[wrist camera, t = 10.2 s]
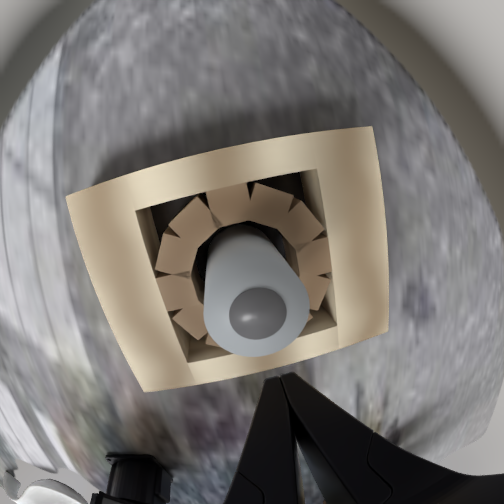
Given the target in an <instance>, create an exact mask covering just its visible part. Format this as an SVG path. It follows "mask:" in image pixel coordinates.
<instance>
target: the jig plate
mask: <svg viewBox="0 0 504 504" xmlns="http://www.w3.org/2000/svg"><path fill="white" fill-rule="evenodd" d="M294 172H300V176H301V181H302V187H303V192H304V198H305V203H306V206H305V204H304V203H303V202H302V201H301V200H298V199H296V198H293V196H294V195H291V194H288V193H285V192H282V191H279V190H276V189H273V188H270V187H267V186H264V185H261V184H258V183H255V182H252V181H254V180H259V179H264V178H269V177H274V176H279V175H284V174H289V173H294ZM246 182H248V184H246ZM202 192H206V195H207V198H206V197H205V196H204V195H203V194H202ZM194 194H197V195H196V196H195V197H194V198H193V199H192V200H191V201H190V202H189V203H188V204H187V205H186V206H185V207H184V208H183V209H182V210H181V211H180V212H179V213H178V214H177V215H176V216H175V217H174V218H173V220H172V221H171V222H170V223H169V224H168V225H169V227H168V228H167V229H166V231H165V232H164V233H163V237H162V241H161V245H160V241H159V238H158V234H157V231H156V227H155V223H154V220H153V216H152V212H151V209H150V206H153V205H157V204H160V203H164V202H168V201H171V200H175V199H179V198H183V197H186V196H190V195H194ZM66 201H67V205H68V208H69V212H70V216H71V220H72V223H73V227H74V230H75V233H76V237H77V240H78V243H79V246H80V249H81V252H82V255H83V258H84V261H85V264H86V267H87V270H88V273H89V275H90V278H91V281H92V283H93V286H94V289H95V291H96V294H97V296H98V299H99V301H100V304H101V306H102V308H103V311H104V313H105V315H106V318H107V320H108V322H109V324H110V327H111V329H112V331H113V333H114V335H115V337H116V339H117V342H118V344H119V346H120V348H121V350H122V352H123V354H124V356H125V358H126V360H127V362H128V363H129V365H130V367H131V369H132V371H133V373H134V375H135V377H136V378H137V380H138V382H139V384H140V386H141V387H142V389H143V391H144V392H152V391H160V390H167V389H174V388H181V387H187V386H193V385H199V384H205V383H210V382H215V381H220V380H225V379H230V378H235V377H240V376H244V375H248V374H253V373H257V372H261V371H265V370H269V369H273V368H277V367H281V366H285V365H288V364H292V363H295V362H299V361H302V360H306V359H309V358H313V357H316V356H319V355H322V354H326V353H329V352H332V351H335V350H338V349H341V348H344V347H347V346H350V345H353V344H355V343H358V342H361V341H364V340H367V339H369V338H372V337H375V336H377V335H380V334H382V333H385V332H388V320H389V270H388V247H387V231H386V219H385V208H384V199H383V190H382V182H381V175H380V168H379V161H378V155H377V149H376V144H375V138H374V133H373V128H372V126H368V127H356V128H346V129H336V130H328V131H320V132H312V133H305V134H298V135H291V136H285V137H279V138H273V139H267V140H262V141H256V142H251V143H246V144H241V145H236V146H231V147H227V148H222V149H218V150H213V151H209V152H205V153H201V154H197V155H193V156H189V157H185V158H181V159H177V160H174V161H170V162H166V163H163V164H159V165H156V166H153V167H149V168H146V169H143V170H139V171H136V172H133V173H130V174H127V175H124V176H120V177H117V178H115V179H112V180H109V181H106V182H103V183H100V184H97V185H94V186H92V187H89V188H86V189H84V190H81V191H78V192H76V193H73V194H71V195H68V196H66ZM248 220H250V221H253V222H256V223H260V224H263V225H266V226H269V227H273V228H275V229H276V230H277V231H278V232H279V233H280V234H281V235H282V239H283V244H284V250H285V255H286V259H285V261H286V262H287V263H288V264H289V266H290V267H291V268H292V270H293V271H294V272H295V274H296V275H297V276H298V278H299V279H300V280H301V282H302V283H303V285H304V286H305V288H306V290H307V293H308V297H309V303H310V309H309V316H308V319H307V322H306V325H305V327H304V329H303V330H302V332H301V333H300V335H299V336H298V337H297V338H296V339H295V340H294V341H293V342H292V343H291V344H289V345H288V346H287V347H285V348H283V349H282V350H280V351H278V352H275V353H273V354H269V355H265V356H259V357H246V356H240V355H236V354H233V353H231V352H229V351H227V350H225V349H223V348H222V347H220V346H219V345H218V344H217V343H216V342H215V341H214V340H213V339H212V337H211V336H210V334H209V333H208V331H207V328H206V326H205V322H204V315H203V312H204V295H205V282H204V281H203V280H202V279H201V278H200V275H199V271H198V268H197V264H196V261H195V256H196V253H197V249H198V247H199V246H200V245H201V244H202V243H203V242H204V241H206V240H207V239H208V238H209V237H210V236H211V235H212V234H213V233H214V232H215V231H216V230H217V229H218V228H219V227H223V226H227V225H231V224H235V223H240V222H244V221H248ZM190 334H191V335H190Z"/></svg>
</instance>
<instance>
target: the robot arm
mask: <svg viewBox="0 0 504 504" xmlns="http://www.w3.org/2000/svg"><path fill="white" fill-rule="evenodd" d="M373 432H374V431H373V430H372V429H370V428H369V427H367V426H366V425H365V424H363V423H362V422H360V421H359V420H357V419H356V418H355V417H353V416H352V415H350V414H349V413H348V412H346V411H345V410H343V409H342V408H341V407H339V406H338V405H336V404H335V403H334V402H332V401H331V400H330V399H328V398H327V397H326V396H324V395H323V394H322V393H320V392H319V391H318V390H316V389H315V388H314V387H312V386H311V385H310V384H309V383H307V382H306V381H305V380H303V379H302V378H301V377H299V376H298V375H297V374H296V373H294V372H289V373H286V374H282V375H280V378H279V377H278V376H274V377H270V378H266V379H265V380H264V383H263V386H262V389H261V393H260V396H259V400H258V403H257V406H256V410H255V413H254V416H253V419H252V423H251V426H250V429H249V432H248V435H247V439H246V442H245V445H244V448H243V451H242V454H241V457H240V460H239V463H238V466H237V469H236V471H237V472H235V474H234V477H233V480H232V483H231V486H230V488H229V491H228V493H227V496H226V498H225V500H224V502H223V504H305V498H304V491H303V483H302V476H301V468H300V461H299V454H298V447H297V443H298V445H299V447H300V450H301V452H302V454H303V456H304V458H305V460H306V462H307V464H308V466H309V469H310V471H311V473H312V475H313V477H314V479H315V481H316V483H317V485H318V487H319V489H320V491H321V493H322V495H323V497H324V499H325V501H326V503H327V504H504V474H495V475H482V476H473V475H466V474H462V473H458V472H455V471H453V470H450V469H447V468H445V467H442V466H440V465H437V464H435V463H433V462H430V461H428V460H425V459H423V458H421V457H418V456H416V455H414V454H412V453H410V452H408V451H406V450H404V449H402V448H400V447H398V446H397V445H395V444H393V443H392V442H390V441H388V440H387V439H385V438H384V437H382V436H381V435H379V434H378V433H376V432H374V433H373ZM296 440H297V442H296ZM105 459H106V460H107V461H108V462H109V463H110V464H111V465H112V467H111V471H110V476H109V480H108V485H107V490H106V494H105V493H104V492H102V491H99V494H98V493H97V494H94V493H93V494H92V498H91V502H90V504H166V503H169V502H170V485H171V483H172V482H173V478H172V477H171V476H170V475H169V474H168V473H167V472H166V471H165V470H164V469H163V467H162V466H161V465H160V464H159V463H158V462H157V461H156V459H155V458H154V457H153V456H150V455H106V457H105Z"/></svg>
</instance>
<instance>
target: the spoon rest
mask: <svg viewBox="0 0 504 504" xmlns="http://www.w3.org/2000/svg"><path fill="white" fill-rule="evenodd" d="M3 484H4V490H5V492H6V494H7V496H8V497H9V498H10V499H12V500H13V501H15V502H16V503H17V504H88V503H87V501H86V500H85V499H84V498H83V497H82V496H81V495H80V494H79V493H77V492H76V491H75V490H74V489H72V488H71V487H69V486H67V485H66V484H63V483H61V482H59V481H56V480H53V479H47V480H38V481H35V482H33V483H32V484H30V485H29V486H28V487H27V488H26V490H25V491H24V492H23V494H22V495H21V496H20V498H17V493H18V490H19V488H20V486H21V484H20V482H19V481H18V480H16V479H15V478H14V477H13V476H12V475H11V474H9V473H8V472H5V473H4V478H3Z"/></svg>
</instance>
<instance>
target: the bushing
mask: <svg viewBox="0 0 504 504" xmlns="http://www.w3.org/2000/svg"><path fill="white" fill-rule="evenodd" d="M309 309H310V303H309V297H308V293H307V290H306V288H305V286H304V285H303V283H302V282H301V280H300V279H299V278H298V276H297V275H296V274H295V272H294V271H293V270H292V268H291V267H290V266H289V264H288V263H287V262H286V261H285V259H284V258H283V257H282V255H281V254H280V253H279V251H278V250H277V249H276V247H275V246H274V245H273V244H272V242H271V241H270V240H269V238H268V237H267V236H266V235H265V234H264V233H263V232H262V231H261V230H259V229H257V228H256V227H253V226H250V225H244V224H239V225H233V226H229V227H227V228H225V229H223V230H222V231H220V232H219V233H218V234H217V235H216V236H215V237H214V238H213V240H212V241H211V243H210V245H209V248H208V252H207V265H206V279H205V295H204V312H203V315H204V322H205V326H206V328H207V331H208V333H209V334H210V336H211V337H212V339H213V340H214V341H215V342H216V343H217V344H218V345H219V346H220V347H222V348H223V349H225V350H227V351H229V352H231V353H233V354H236V355H240V356H246V357H259V356H265V355H269V354H273V353H275V352H278V351H280V350H282V349H283V348H285V347H287V346H288V345H289V344H291V343H292V342H293V341H294V340H295V339H296V338H297V337H298V336H299V335H300V333H301V332H302V330H303V329H304V327H305V325H306V322H307V319H308V316H309Z"/></svg>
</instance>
